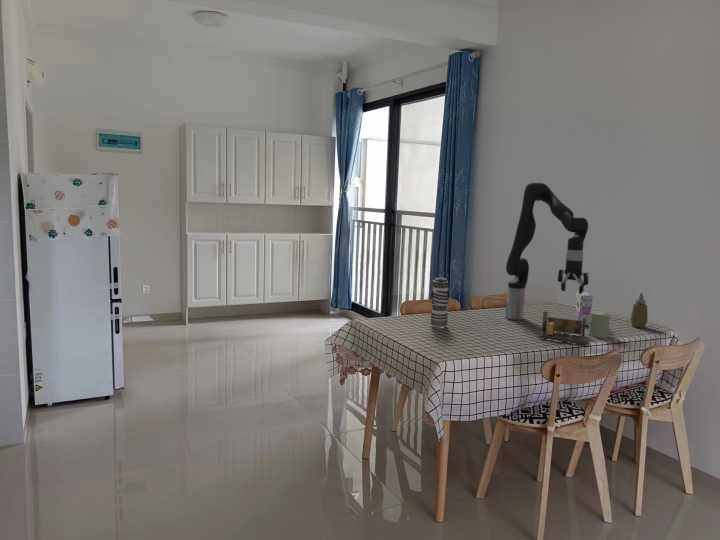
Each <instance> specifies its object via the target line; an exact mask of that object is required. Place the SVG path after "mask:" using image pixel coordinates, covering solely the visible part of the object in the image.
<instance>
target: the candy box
mask: <svg viewBox="0 0 720 540" xmlns="http://www.w3.org/2000/svg"><path fill="white" fill-rule="evenodd" d="M575 298H576V299H575V312H574V320H580V321H582V327H583V318H586V322H585V327H589V326H590V312H591V311H592V308H593V307H592V306H593V295H592V294H591V293H590V292H588V291H584V290H583V293H582V294H579V290H578V291H576V296H575Z"/></svg>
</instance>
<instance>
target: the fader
mask: <svg viewBox="0 0 720 540" xmlns="http://www.w3.org/2000/svg"><path fill="white" fill-rule="evenodd" d="M547 324H548V330H547V329H546V332H547V334H548V335H553V334H554V332H555V331H554V327H555V323H553V322H549V323H548V322H547Z"/></svg>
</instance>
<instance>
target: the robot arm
mask: <svg viewBox="0 0 720 540" xmlns="http://www.w3.org/2000/svg"><path fill="white" fill-rule="evenodd" d="M536 201H537V202H539V201H540V202H543V203H545V204H547V205H548V207H549V209H550V213H552V215H553V217H555V218H556V219H558V221H560V223H561V224H562V225H563V227H564V229H565V230H566V231H568V232H570V233H574V235H573V236H571V237H569V238H568V239H567V251H566V255H565V270H564V269H563V268H562V269H559V270H558V275H557V282H559V283H561V285H560V287H561V288H560V289H561V291H562V292H565V291H566V287H567V286H566V285H567V281H576V283H578V285H579V286H578V291H579V294H582V293H583V291H584V289H585V286H588V285H589V272H588V271H587V272H583V271H582V270H583V260H584V241H585V238H586V236H587V233H588V230H589V222H588V220H587V219H586V218H585V217H574V215H575V214H574V212H573V210H571V209H570V208H569V207H568V206H567V205H565V204H564V203H563V202H562V201H561V200H559V198H558V197H557V196H556V195H555V194H554V192H553V191H552V190H551V188H550V187H549V186H548V184H546V183H543V182H529V183H528V184H527V185H526V186H525V189H524V192H523V198H522V206H521V211H520V215H519V218H518V219H519V220H518V223H517V228H516V231H515V236H514V240H513V243H512V246H511V251H510V252H509V255H508V257H507V260H506V264H505V265H506V266H505V270H506V273H507V274H508V275H509V276H514V278H512V279H511V280H509V281H508V284H507V285H508V286H507V300H506V302H505V303H506V304H505V319H510V320H512V321H513V320H515V321H520V320H524V316H525V301H526V287H527V284H528V281H529V271H530V270H529V269H530V266H529V261H528V260H527V259H526V258H523V257H521V256H522V254H523V252H524V250H525V249H526V248H527V247H528V246H529V244H530V243H531V242H532V241H533V238H534V236H535V232H536V229H537V224H536V223H537V222H536V219H535V216H534V206H535V202H536ZM564 275H565V276H564ZM582 277H583V278H582Z"/></svg>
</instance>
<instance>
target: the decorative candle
mask: <svg viewBox="0 0 720 540" xmlns="http://www.w3.org/2000/svg"><path fill="white" fill-rule="evenodd" d="M432 283H433V284H432V290H431V294H430V296H431V308H432V309H431V312H430V314H431V315H430V327H431V326H433V327H446V328H448V317H449V316H448V305H449V302H448V301H449V300H450V298H449V297H450V295H448V294H450V289H449V280H448V279H447V278H445V277H435V278H434V279H433V280H432ZM433 327H432V328H433Z"/></svg>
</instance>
